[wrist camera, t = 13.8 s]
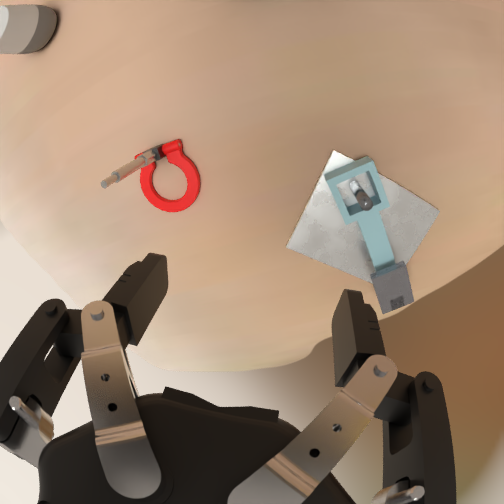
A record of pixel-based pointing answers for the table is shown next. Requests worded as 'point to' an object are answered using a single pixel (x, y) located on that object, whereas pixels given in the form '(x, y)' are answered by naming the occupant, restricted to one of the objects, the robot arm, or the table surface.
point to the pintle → (361, 196)
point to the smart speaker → (25, 28)
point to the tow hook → (147, 167)
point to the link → (366, 219)
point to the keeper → (392, 287)
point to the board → (350, 236)
